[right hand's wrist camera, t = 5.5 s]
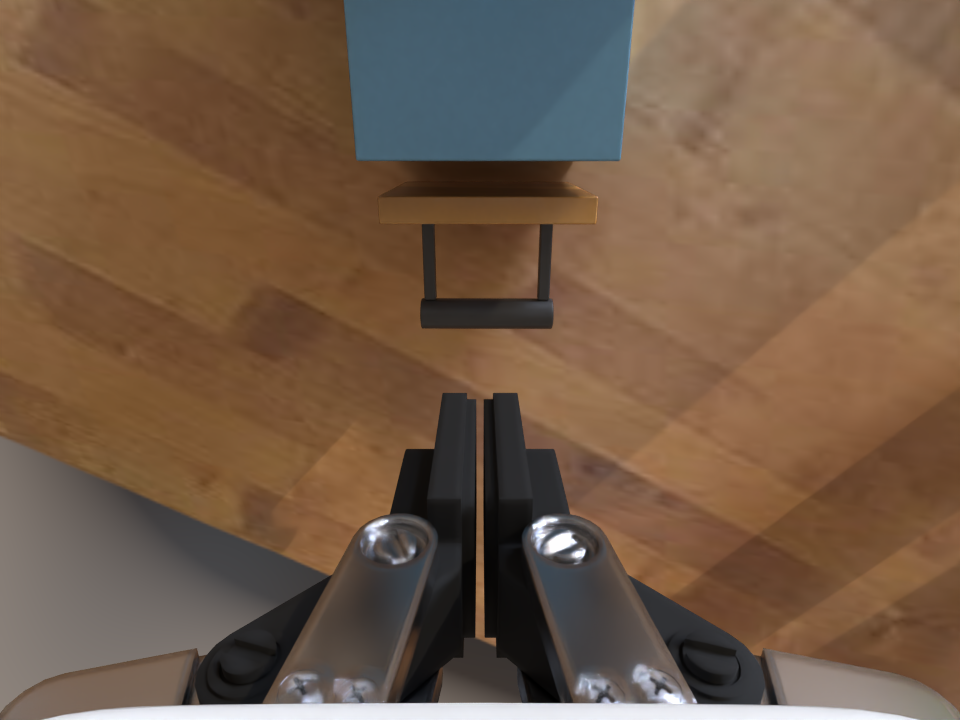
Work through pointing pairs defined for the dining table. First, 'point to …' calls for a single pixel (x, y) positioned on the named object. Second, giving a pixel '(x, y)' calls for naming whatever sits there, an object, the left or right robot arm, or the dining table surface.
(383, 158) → the cabinet
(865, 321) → the dining table surface
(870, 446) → the dining table surface
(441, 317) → the drawer
